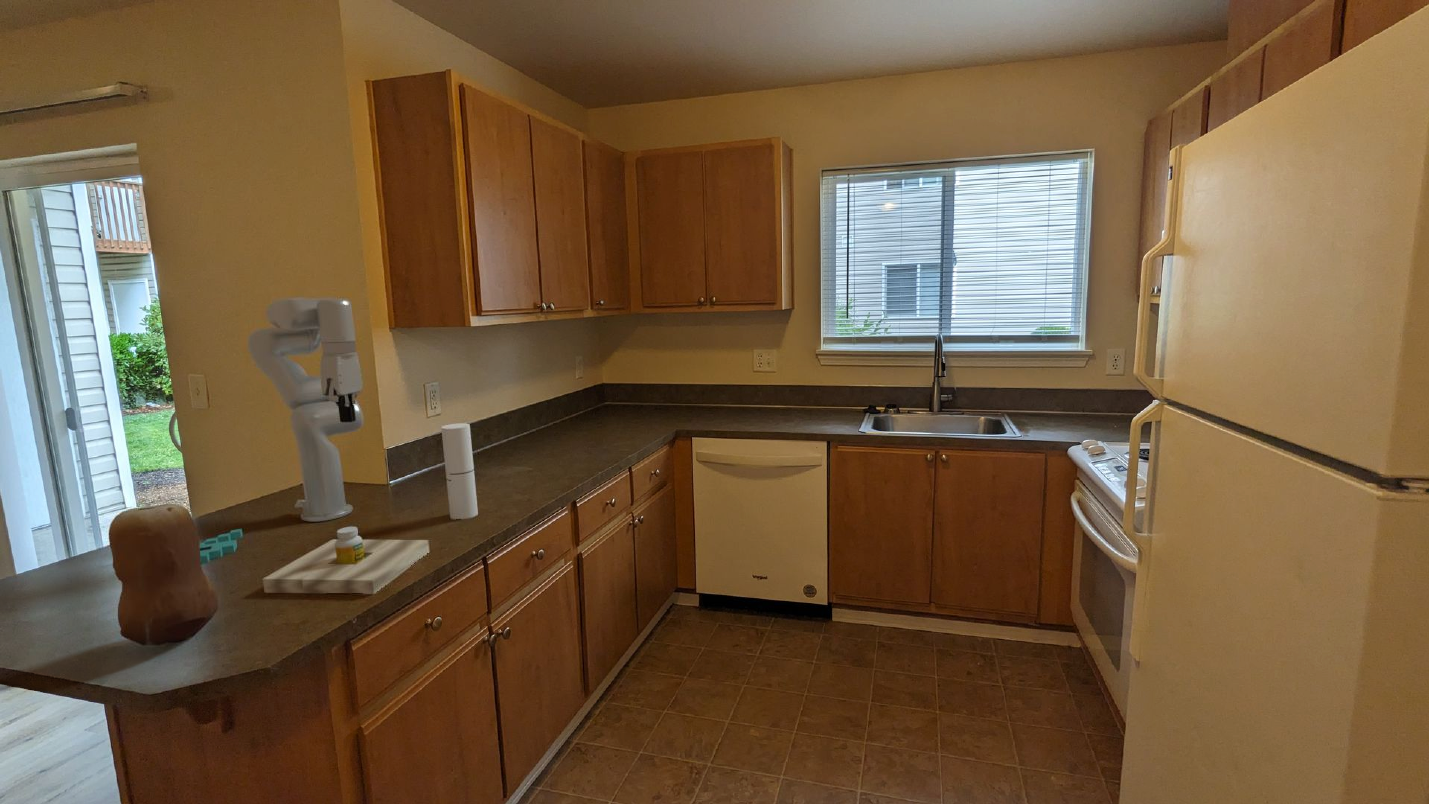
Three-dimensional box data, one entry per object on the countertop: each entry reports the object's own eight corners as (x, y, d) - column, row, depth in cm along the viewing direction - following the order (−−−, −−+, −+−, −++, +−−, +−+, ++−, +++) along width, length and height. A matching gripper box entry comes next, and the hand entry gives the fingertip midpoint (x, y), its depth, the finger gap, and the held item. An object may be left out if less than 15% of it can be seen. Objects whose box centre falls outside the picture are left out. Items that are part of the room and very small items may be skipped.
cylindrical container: (468, 520, 179) (460, 428, 175) (444, 519, 181) (435, 428, 177) (483, 511, 186) (474, 423, 182) (459, 510, 188) (451, 423, 184)
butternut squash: (186, 617, 128) (165, 492, 124) (239, 625, 125) (218, 496, 120) (103, 655, 115) (76, 516, 111) (159, 665, 112) (133, 522, 107)
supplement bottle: (346, 566, 151) (341, 525, 149) (370, 565, 151) (365, 524, 149) (333, 576, 146) (328, 534, 144) (358, 575, 146) (353, 533, 144)
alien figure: (144, 553, 164) (119, 583, 147) (143, 544, 164) (117, 573, 146) (242, 536, 173) (229, 563, 156) (241, 528, 173) (228, 554, 155)
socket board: (264, 592, 138) (262, 578, 138) (333, 551, 160) (332, 539, 159) (374, 594, 136) (372, 580, 136) (429, 552, 158) (428, 540, 157)
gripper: (344, 346, 174) (352, 415, 177) (304, 352, 159) (313, 427, 162) (371, 346, 173) (379, 415, 176) (333, 351, 158) (343, 427, 161)
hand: (348, 421), depth 169 cm, fingers closed
